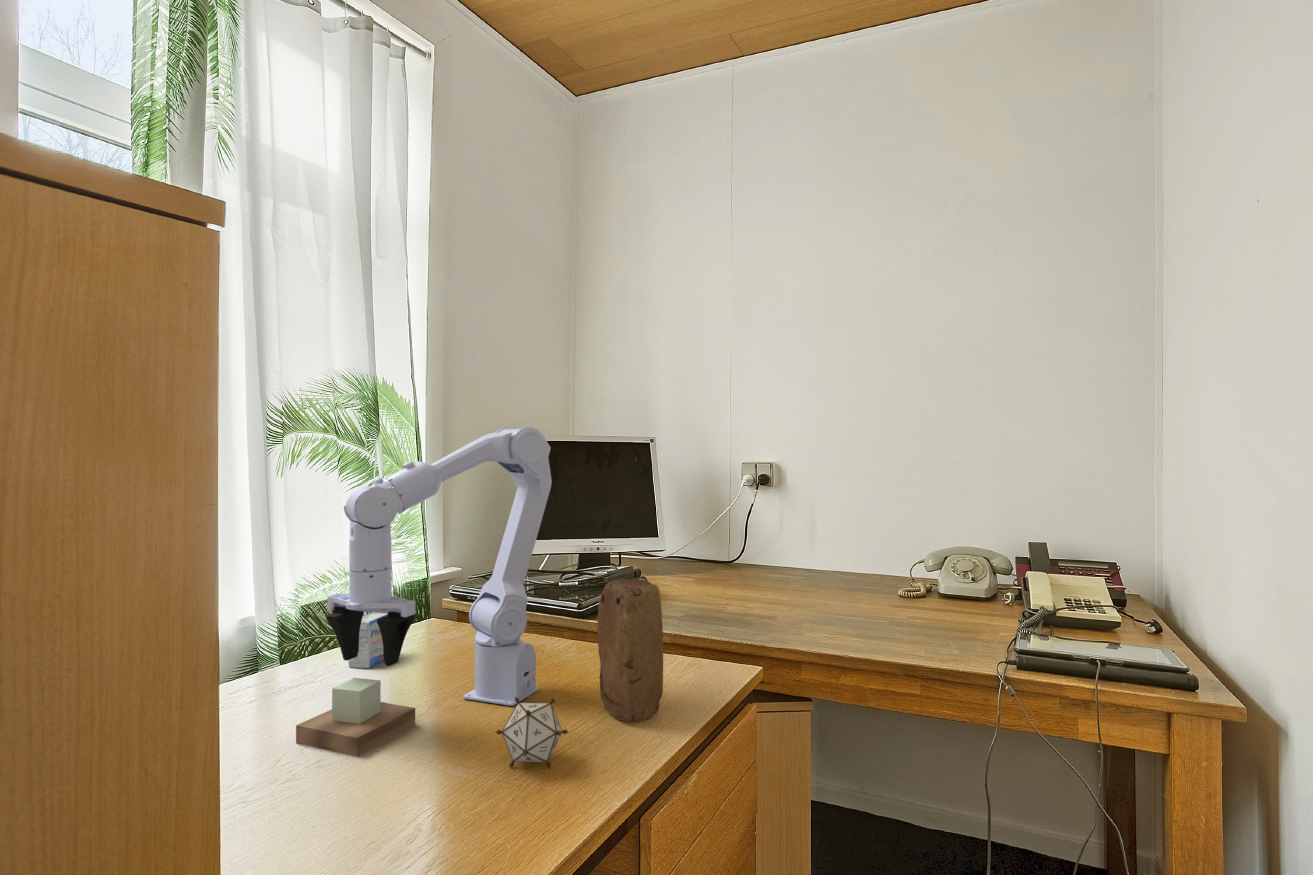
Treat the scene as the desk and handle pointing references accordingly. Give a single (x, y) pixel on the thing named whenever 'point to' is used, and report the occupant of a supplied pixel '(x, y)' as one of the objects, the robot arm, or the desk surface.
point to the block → (630, 648)
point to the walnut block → (355, 730)
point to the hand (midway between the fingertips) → (370, 661)
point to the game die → (532, 732)
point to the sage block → (356, 700)
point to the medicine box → (369, 643)
